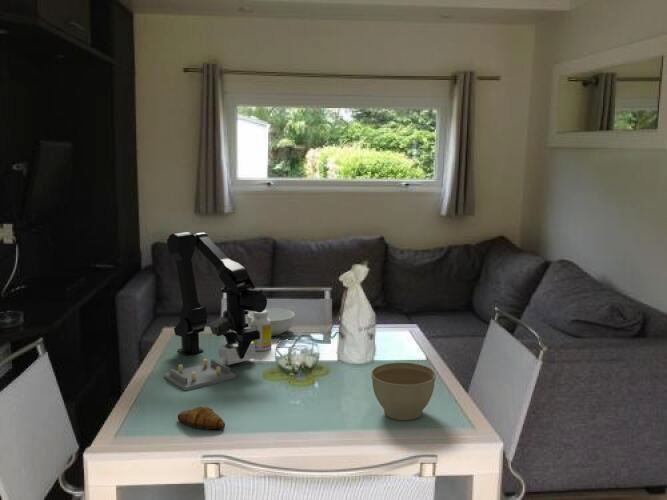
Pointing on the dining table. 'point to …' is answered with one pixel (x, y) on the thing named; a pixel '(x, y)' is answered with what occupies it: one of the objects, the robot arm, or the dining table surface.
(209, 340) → the dining table surface
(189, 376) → the tray
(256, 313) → the supplement bottle
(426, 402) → the planter bowl
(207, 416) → the croissant
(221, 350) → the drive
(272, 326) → the cereal bowl
